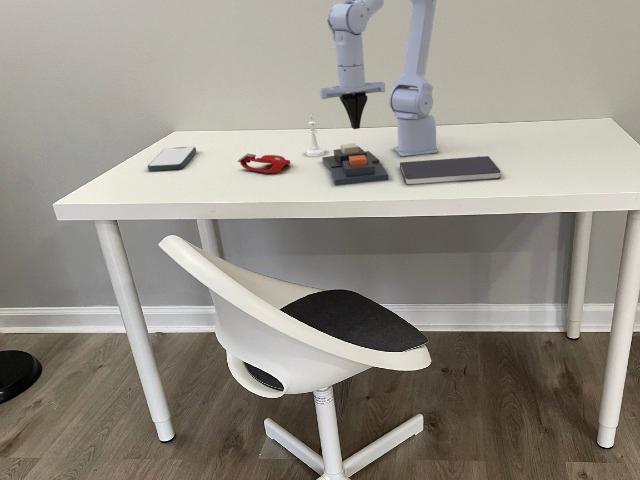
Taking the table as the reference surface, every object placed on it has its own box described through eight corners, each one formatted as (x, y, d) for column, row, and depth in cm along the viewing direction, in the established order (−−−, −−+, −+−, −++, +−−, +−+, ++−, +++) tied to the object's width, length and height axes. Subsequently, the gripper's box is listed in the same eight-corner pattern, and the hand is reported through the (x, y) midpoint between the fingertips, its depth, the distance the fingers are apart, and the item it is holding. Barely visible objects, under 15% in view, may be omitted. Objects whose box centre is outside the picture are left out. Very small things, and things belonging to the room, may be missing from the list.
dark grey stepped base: (369, 156, 158) (368, 143, 156) (379, 165, 150) (378, 152, 149) (322, 162, 155) (321, 149, 153) (331, 172, 147) (329, 159, 146)
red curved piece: (285, 156, 157) (296, 155, 148) (285, 174, 158) (295, 174, 149) (236, 152, 152) (244, 151, 143) (236, 170, 152) (244, 171, 143)
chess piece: (321, 156, 160) (317, 116, 155) (303, 156, 161) (298, 116, 156) (327, 151, 164) (323, 112, 159) (309, 150, 165) (305, 112, 160)
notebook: (488, 162, 149) (400, 168, 147) (488, 155, 148) (399, 162, 147) (501, 178, 138) (405, 185, 136) (501, 171, 137) (405, 178, 136)
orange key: (365, 162, 143) (364, 154, 143) (367, 166, 140) (366, 159, 140) (349, 163, 143) (348, 156, 142) (351, 168, 140) (350, 160, 139)
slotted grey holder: (381, 169, 148) (380, 155, 146) (388, 180, 140) (387, 166, 138) (331, 174, 146) (330, 160, 144) (335, 185, 138) (333, 171, 137)
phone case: (183, 170, 154) (198, 151, 168) (181, 164, 154) (197, 146, 167) (147, 172, 154) (165, 153, 168) (145, 166, 153) (164, 147, 167)
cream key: (355, 150, 153) (354, 143, 152) (359, 153, 150) (358, 146, 149) (340, 151, 152) (340, 144, 151) (344, 155, 149) (343, 148, 148)
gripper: (376, 59, 140) (379, 120, 147) (313, 65, 136) (320, 128, 143) (386, 63, 134) (390, 126, 141) (321, 70, 130) (328, 135, 137)
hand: (355, 128), depth 141 cm, fingers closed
